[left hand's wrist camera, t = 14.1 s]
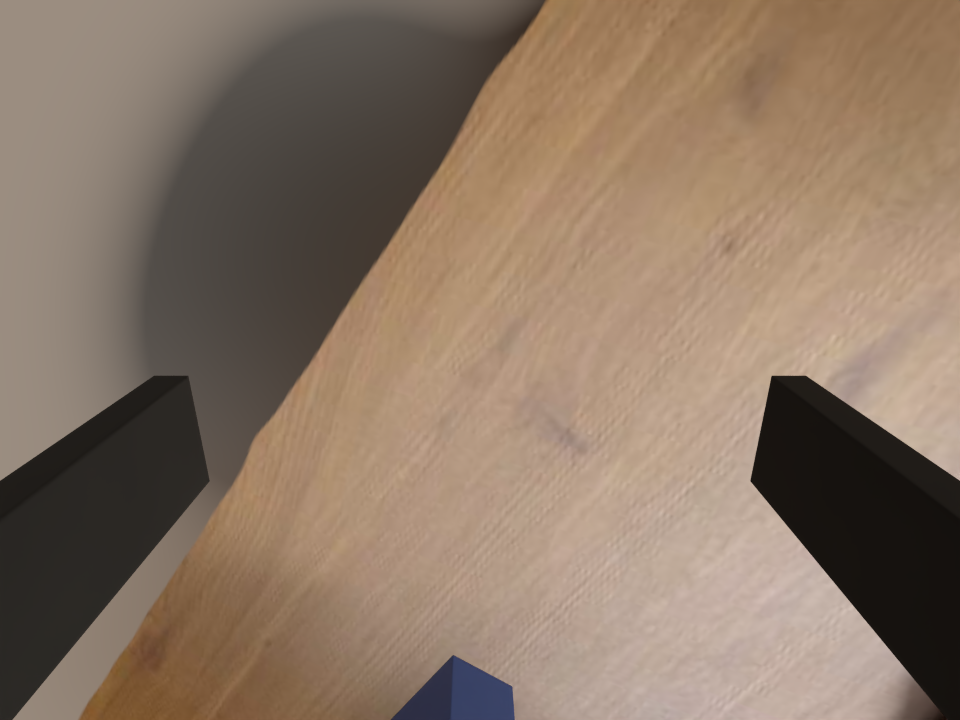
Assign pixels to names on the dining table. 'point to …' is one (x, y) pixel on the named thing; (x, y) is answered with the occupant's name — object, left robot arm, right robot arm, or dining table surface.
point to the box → (460, 696)
